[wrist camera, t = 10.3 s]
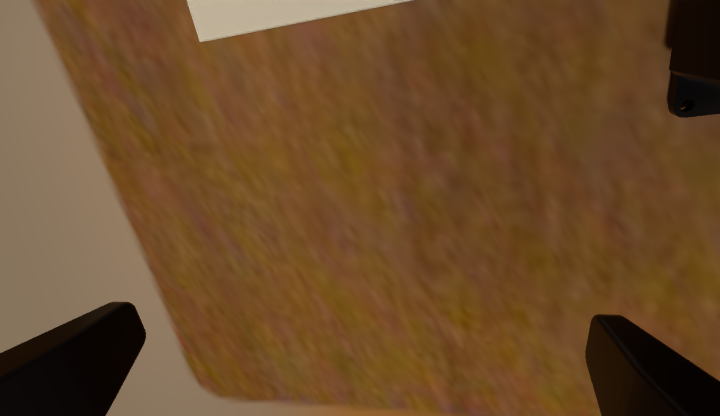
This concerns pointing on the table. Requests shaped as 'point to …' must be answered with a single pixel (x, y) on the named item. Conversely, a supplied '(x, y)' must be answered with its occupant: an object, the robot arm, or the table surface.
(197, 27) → the socket board
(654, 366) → the robot arm
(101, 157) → the table surface
